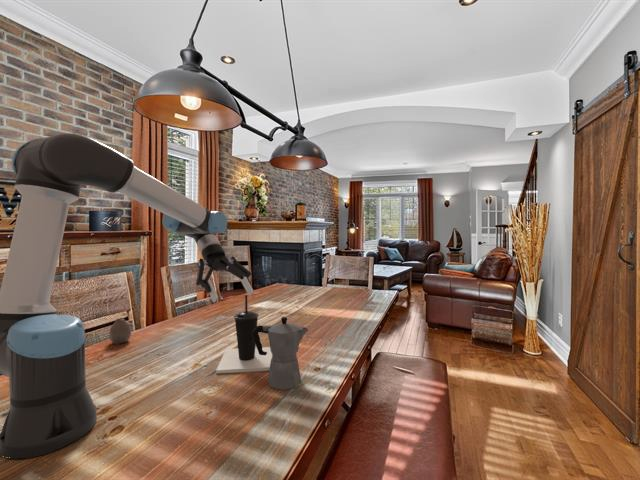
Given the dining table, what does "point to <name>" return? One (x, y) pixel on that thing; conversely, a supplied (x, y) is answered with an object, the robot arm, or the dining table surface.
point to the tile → (244, 362)
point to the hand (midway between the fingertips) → (234, 296)
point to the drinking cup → (246, 333)
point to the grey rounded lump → (120, 331)
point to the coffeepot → (282, 352)
